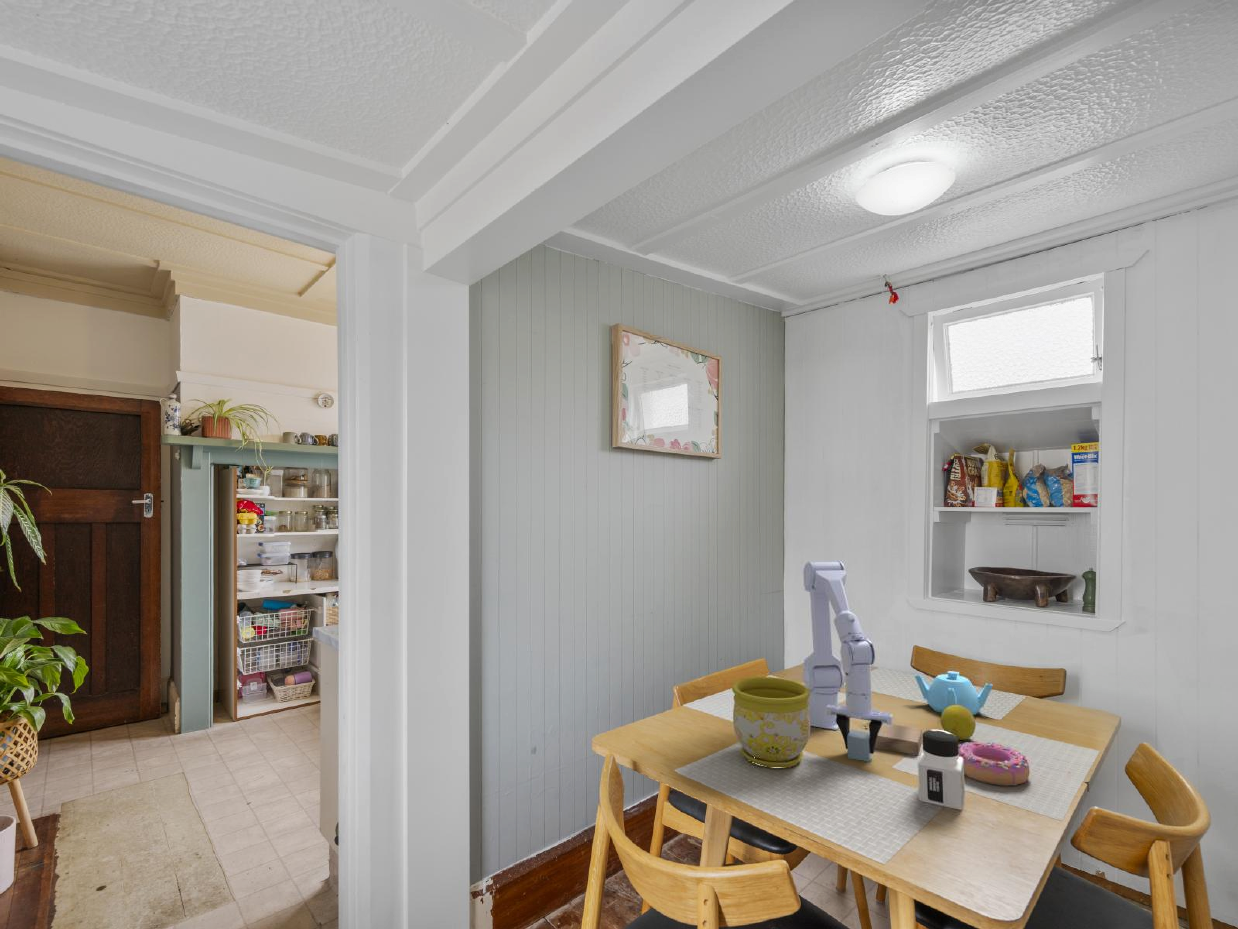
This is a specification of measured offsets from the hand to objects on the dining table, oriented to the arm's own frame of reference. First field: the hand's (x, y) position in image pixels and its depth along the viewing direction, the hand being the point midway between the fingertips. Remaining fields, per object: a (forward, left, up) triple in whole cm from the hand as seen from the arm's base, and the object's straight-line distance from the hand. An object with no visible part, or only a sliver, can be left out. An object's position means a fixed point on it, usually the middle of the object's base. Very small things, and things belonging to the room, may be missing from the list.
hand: (860, 750), depth 149 cm
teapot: (+18, +47, -2) cm, 50 cm away
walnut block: (+7, +12, -1) cm, 14 cm away
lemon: (+20, +24, -2) cm, 31 cm away
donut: (+27, +4, -2) cm, 27 cm away
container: (+18, -14, -2) cm, 23 cm away
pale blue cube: (0, 0, -1) cm, 1 cm away
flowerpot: (-18, -11, -2) cm, 21 cm away
